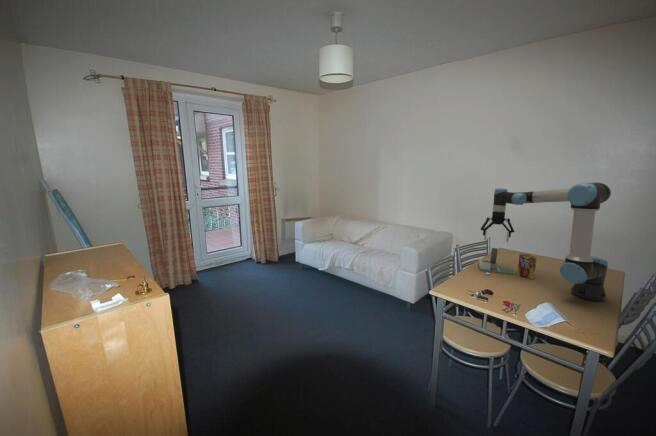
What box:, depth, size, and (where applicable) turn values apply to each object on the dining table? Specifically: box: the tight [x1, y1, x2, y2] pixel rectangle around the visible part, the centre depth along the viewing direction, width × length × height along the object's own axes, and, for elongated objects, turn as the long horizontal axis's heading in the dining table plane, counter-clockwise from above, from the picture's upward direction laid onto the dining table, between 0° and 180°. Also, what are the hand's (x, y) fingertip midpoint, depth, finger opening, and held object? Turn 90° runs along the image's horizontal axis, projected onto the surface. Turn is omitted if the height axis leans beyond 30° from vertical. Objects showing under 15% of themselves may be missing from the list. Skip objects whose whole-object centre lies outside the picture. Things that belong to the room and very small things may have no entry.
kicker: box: [488, 247, 499, 269], centre depth 206 cm, size 6×5×14 cm
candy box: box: [516, 252, 538, 280], centre depth 193 cm, size 9×4×15 cm, turn 39°
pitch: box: [477, 258, 514, 276], centre depth 207 cm, size 13×20×6 cm, turn 69°
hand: (495, 241), depth 204 cm, fingers open, 13 cm apart
